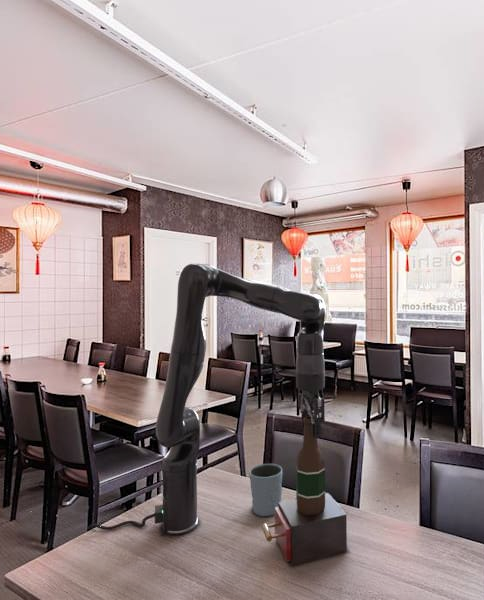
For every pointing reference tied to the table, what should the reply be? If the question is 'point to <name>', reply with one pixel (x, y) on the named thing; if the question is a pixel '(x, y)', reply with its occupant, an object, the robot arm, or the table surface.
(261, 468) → the drinking glass
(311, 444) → the beer bottle
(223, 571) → the table surface
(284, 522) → the drawer
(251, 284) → the robot arm
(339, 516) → the cabinet
